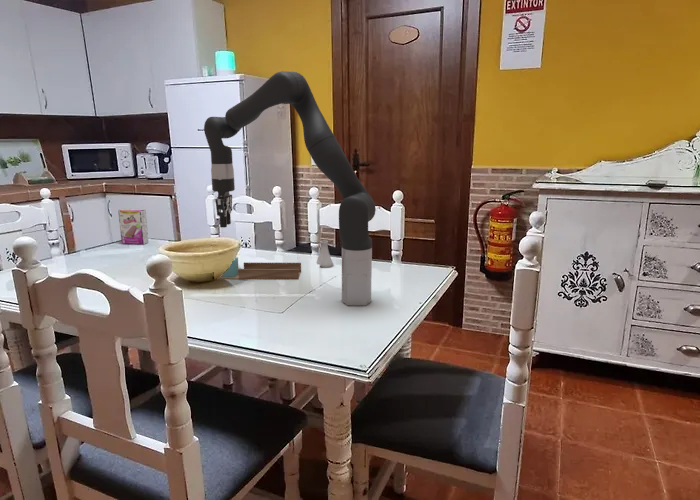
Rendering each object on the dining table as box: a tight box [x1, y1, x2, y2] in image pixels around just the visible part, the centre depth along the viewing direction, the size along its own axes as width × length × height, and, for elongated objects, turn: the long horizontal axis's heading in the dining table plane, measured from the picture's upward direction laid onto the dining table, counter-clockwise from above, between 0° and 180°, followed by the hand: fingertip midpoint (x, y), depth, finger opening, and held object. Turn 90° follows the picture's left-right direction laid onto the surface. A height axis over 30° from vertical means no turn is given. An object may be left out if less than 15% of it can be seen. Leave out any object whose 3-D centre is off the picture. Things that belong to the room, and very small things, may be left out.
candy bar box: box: [118, 208, 149, 246], centre depth 226 cm, size 11×5×16 cm, turn 84°
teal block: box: [221, 256, 240, 277], centre depth 172 cm, size 5×8×6 cm, turn 90°
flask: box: [315, 239, 334, 268], centre depth 190 cm, size 7×7×10 cm
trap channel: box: [216, 262, 302, 280], centre depth 172 cm, size 10×31×5 cm, turn 90°
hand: (225, 225), depth 169 cm, fingers open, 5 cm apart
